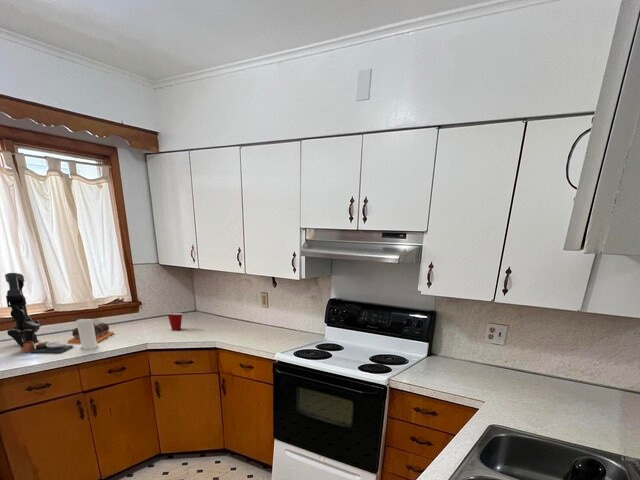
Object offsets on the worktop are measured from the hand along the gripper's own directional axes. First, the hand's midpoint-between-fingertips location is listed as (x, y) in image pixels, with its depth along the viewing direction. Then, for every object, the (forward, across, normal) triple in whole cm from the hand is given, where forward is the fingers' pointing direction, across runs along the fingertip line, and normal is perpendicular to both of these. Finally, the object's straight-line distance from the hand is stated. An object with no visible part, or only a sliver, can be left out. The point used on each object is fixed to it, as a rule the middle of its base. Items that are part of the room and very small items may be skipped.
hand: (27, 345), depth 237 cm
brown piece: (+4, +34, -20) cm, 40 cm away
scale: (+3, +2, -12) cm, 13 cm away
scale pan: (0, +3, -12) cm, 13 cm away
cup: (+4, +10, -29) cm, 31 cm away
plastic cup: (+4, +65, -65) cm, 92 cm away
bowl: (+3, 0, 0) cm, 3 cm away
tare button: (+1, +2, -7) cm, 7 cm away
